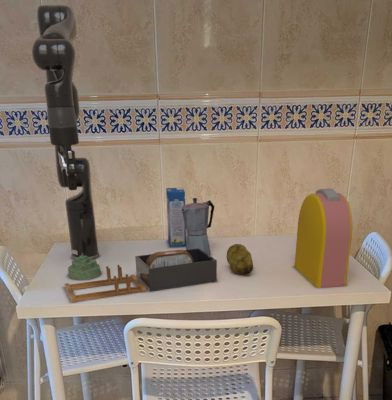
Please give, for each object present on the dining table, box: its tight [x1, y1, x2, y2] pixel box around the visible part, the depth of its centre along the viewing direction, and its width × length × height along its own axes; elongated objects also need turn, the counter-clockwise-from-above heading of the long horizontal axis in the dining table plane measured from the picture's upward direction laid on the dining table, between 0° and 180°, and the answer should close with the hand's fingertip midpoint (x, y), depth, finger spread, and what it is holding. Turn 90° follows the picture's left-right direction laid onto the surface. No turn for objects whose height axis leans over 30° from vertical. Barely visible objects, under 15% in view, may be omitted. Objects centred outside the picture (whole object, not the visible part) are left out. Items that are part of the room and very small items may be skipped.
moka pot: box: [181, 197, 215, 256], centre depth 175 cm, size 10×15×20 cm, turn 137°
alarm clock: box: [294, 188, 354, 289], centre depth 151 cm, size 21×9×26 cm, turn 9°
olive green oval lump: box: [226, 243, 254, 276], centre depth 160 cm, size 8×13×8 cm, turn 178°
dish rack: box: [63, 264, 147, 303], centre depth 147 cm, size 13×22×5 cm, turn 112°
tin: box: [146, 249, 194, 268], centre depth 153 cm, size 15×3×8 cm, turn 111°
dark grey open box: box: [134, 248, 218, 292], centre depth 154 cm, size 14×21×7 cm
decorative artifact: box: [67, 253, 101, 281], centre depth 159 cm, size 10×7×10 cm
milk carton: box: [165, 187, 187, 248], centre depth 188 cm, size 10×6×20 cm, turn 6°
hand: (70, 187), depth 142 cm, fingers open, 8 cm apart
